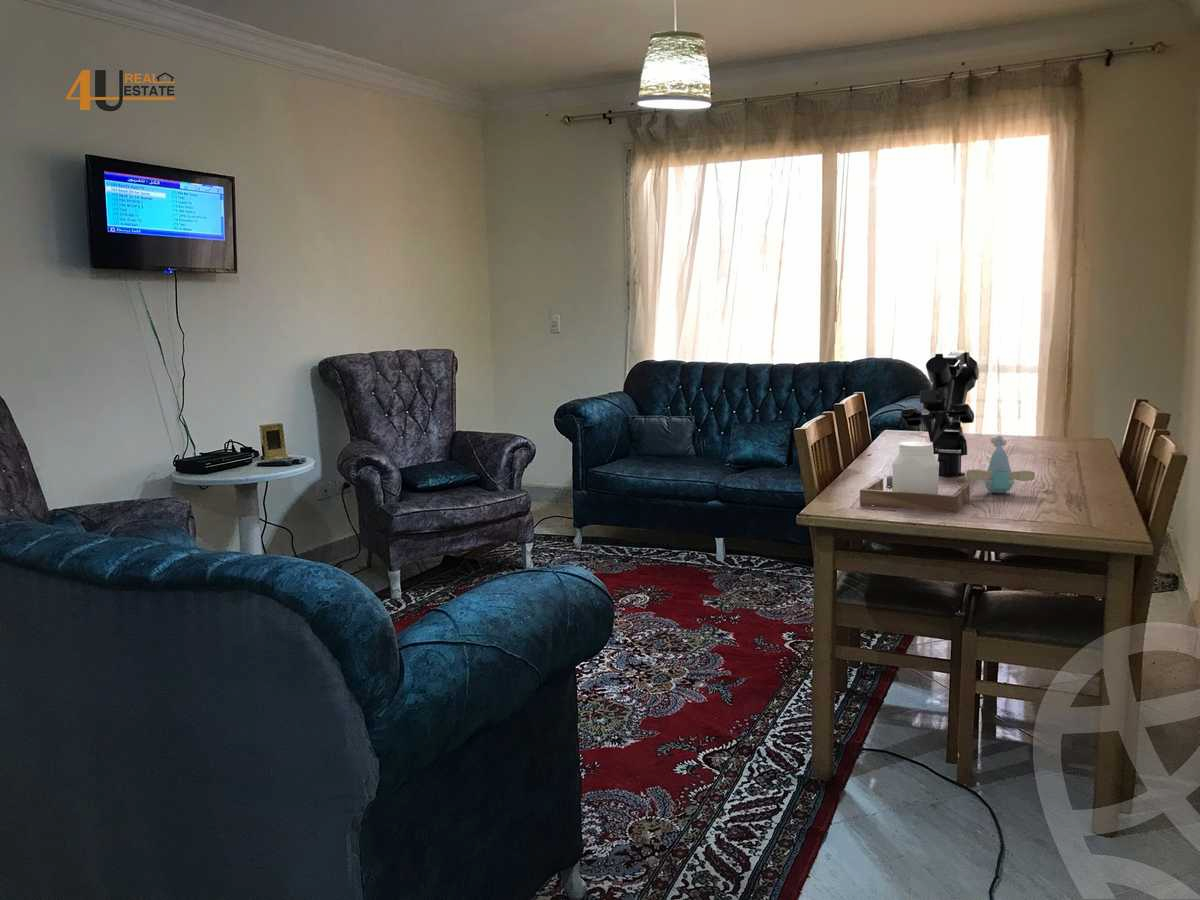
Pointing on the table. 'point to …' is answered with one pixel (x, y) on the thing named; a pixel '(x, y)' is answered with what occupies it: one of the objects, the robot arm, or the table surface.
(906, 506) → the wooden tray
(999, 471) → the blue winged piece
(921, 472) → the jar
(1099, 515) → the table surface
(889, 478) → the wheel
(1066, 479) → the table surface
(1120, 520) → the table surface
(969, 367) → the robot arm
